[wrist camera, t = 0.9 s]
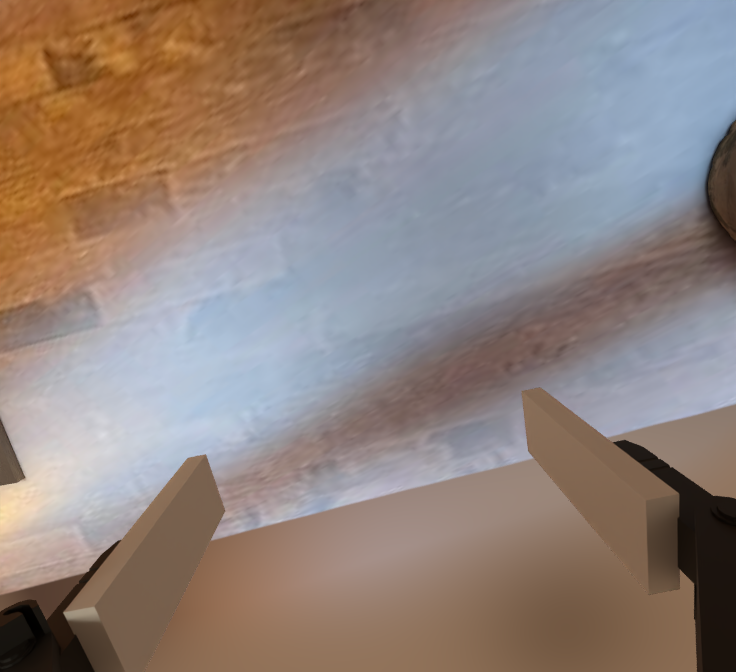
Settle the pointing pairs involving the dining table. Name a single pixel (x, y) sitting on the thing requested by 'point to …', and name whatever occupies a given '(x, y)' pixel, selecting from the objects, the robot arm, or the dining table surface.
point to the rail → (8, 461)
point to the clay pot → (724, 182)
